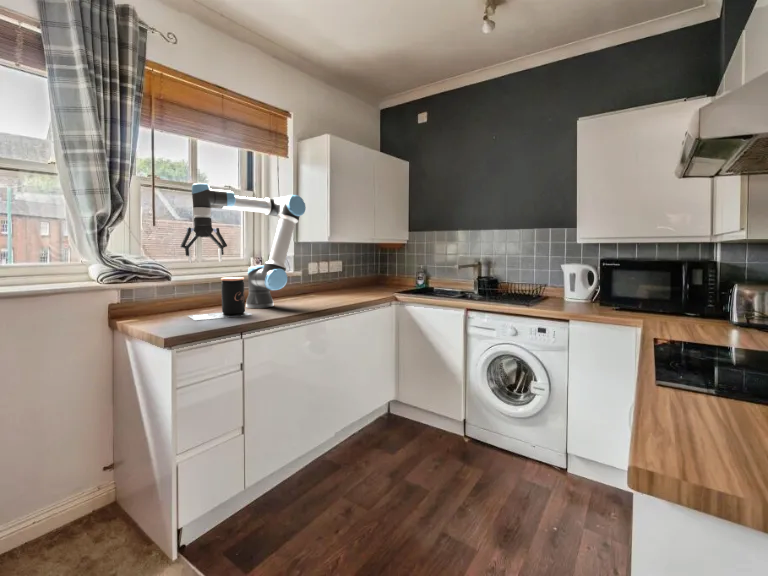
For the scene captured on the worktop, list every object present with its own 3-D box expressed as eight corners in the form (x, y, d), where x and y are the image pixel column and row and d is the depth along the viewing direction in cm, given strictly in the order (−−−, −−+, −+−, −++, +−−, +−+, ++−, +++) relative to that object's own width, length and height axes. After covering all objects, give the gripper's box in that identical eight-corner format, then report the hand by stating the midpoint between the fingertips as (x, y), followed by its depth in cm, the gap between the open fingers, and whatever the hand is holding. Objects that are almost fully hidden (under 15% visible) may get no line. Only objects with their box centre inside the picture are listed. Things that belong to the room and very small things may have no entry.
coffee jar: (237, 315, 188) (236, 278, 187) (217, 315, 191) (216, 278, 189) (249, 312, 199) (248, 277, 197) (230, 311, 201) (229, 277, 199)
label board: (241, 311, 205) (241, 310, 205) (252, 315, 192) (252, 314, 192) (187, 316, 189) (187, 315, 189) (195, 320, 176) (195, 320, 176)
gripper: (227, 218, 193) (229, 261, 196) (171, 217, 178) (174, 263, 180) (232, 217, 188) (234, 261, 190) (174, 215, 172) (178, 263, 174)
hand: (205, 262), depth 185 cm, fingers open, 13 cm apart
